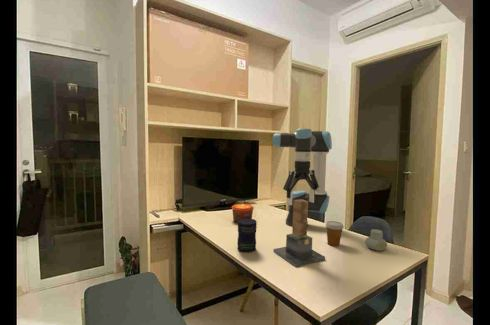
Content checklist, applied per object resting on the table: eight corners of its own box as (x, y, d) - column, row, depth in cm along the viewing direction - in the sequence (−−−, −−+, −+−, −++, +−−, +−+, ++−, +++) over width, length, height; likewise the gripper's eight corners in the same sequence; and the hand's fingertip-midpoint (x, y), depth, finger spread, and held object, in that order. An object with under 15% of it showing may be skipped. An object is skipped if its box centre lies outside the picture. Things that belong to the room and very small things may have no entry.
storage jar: (254, 253, 131) (255, 224, 129) (235, 251, 132) (236, 223, 131) (257, 246, 140) (257, 219, 139) (239, 244, 142) (239, 217, 141)
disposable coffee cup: (342, 242, 149) (343, 222, 148) (342, 248, 140) (343, 227, 139) (324, 240, 152) (325, 220, 151) (324, 246, 143) (325, 224, 142)
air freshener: (379, 245, 146) (380, 228, 145) (390, 251, 138) (391, 233, 137) (361, 246, 144) (363, 228, 144) (371, 252, 136) (372, 233, 135)
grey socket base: (301, 246, 142) (301, 228, 141) (325, 259, 126) (326, 239, 125) (273, 251, 133) (274, 232, 133) (295, 267, 117) (296, 245, 117)
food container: (226, 221, 183) (227, 206, 182) (239, 216, 196) (239, 202, 196) (245, 225, 174) (245, 210, 174) (257, 220, 188) (258, 205, 187)
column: (299, 237, 132) (301, 199, 131) (306, 241, 128) (308, 201, 126) (291, 239, 130) (293, 200, 129) (298, 242, 125) (300, 202, 124)
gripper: (286, 161, 117) (284, 207, 119) (327, 160, 128) (325, 202, 130) (276, 160, 124) (275, 203, 126) (316, 159, 135) (314, 199, 137)
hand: (300, 203), depth 128 cm, fingers open, 13 cm apart
